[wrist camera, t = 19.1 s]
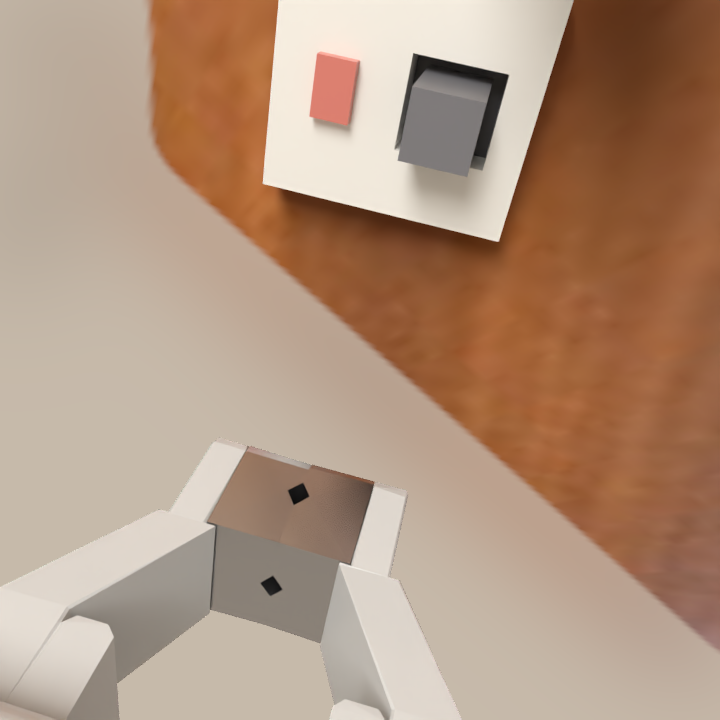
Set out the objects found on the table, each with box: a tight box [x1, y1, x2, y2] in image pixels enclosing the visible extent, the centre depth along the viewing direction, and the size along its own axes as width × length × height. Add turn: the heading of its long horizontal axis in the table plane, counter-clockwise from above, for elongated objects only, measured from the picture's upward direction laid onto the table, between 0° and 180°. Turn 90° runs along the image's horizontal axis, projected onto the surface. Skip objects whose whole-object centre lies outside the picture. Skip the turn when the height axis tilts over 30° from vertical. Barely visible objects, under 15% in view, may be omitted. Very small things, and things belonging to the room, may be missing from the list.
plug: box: [397, 65, 493, 177], centre depth 39 cm, size 4×4×7 cm
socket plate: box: [263, 0, 574, 242], centre depth 41 cm, size 16×14×4 cm
